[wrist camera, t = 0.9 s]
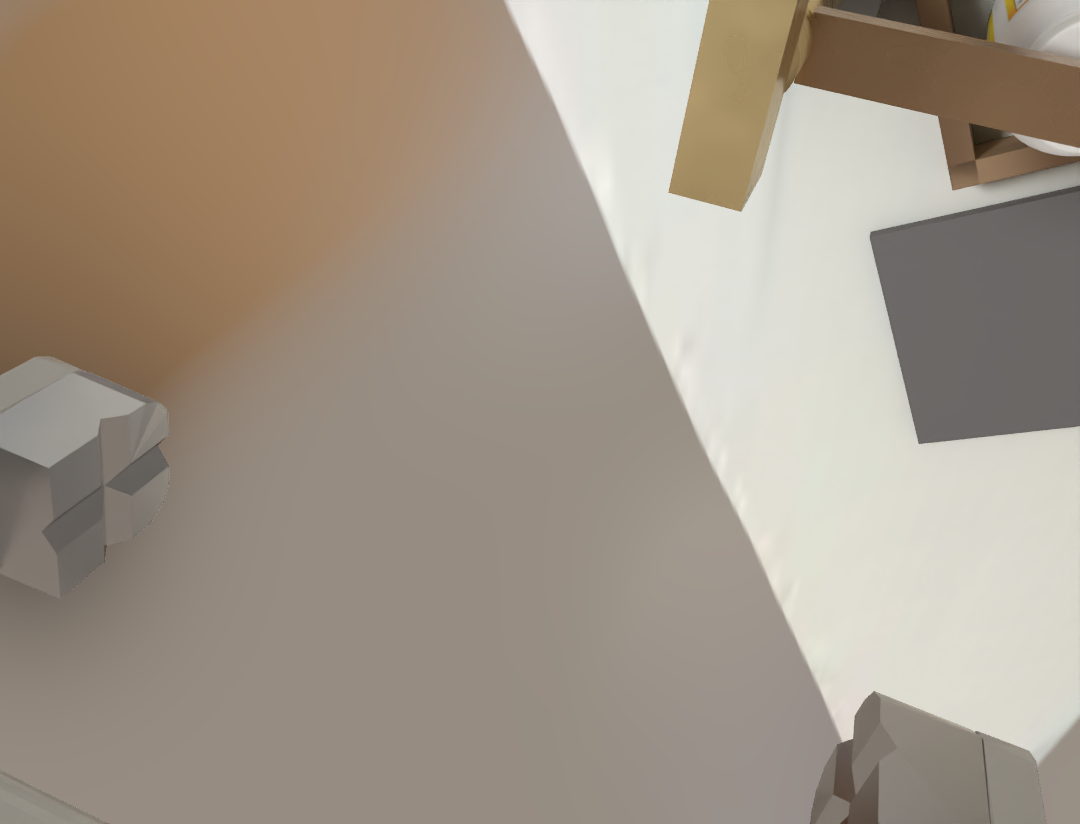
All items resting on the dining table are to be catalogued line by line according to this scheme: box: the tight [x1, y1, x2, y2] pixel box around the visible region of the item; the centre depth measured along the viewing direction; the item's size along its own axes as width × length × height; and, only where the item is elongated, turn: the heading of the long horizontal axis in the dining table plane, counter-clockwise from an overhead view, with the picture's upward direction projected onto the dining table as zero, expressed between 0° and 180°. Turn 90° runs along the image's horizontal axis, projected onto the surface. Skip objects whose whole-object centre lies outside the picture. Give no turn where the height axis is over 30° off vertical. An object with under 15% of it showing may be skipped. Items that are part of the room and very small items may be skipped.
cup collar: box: [916, 0, 1080, 190], centre depth 34 cm, size 10×10×2 cm
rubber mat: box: [870, 186, 1080, 444], centre depth 41 cm, size 11×11×1 cm
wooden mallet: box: [669, 0, 1080, 211], centre depth 27 cm, size 13×6×15 cm, turn 83°
